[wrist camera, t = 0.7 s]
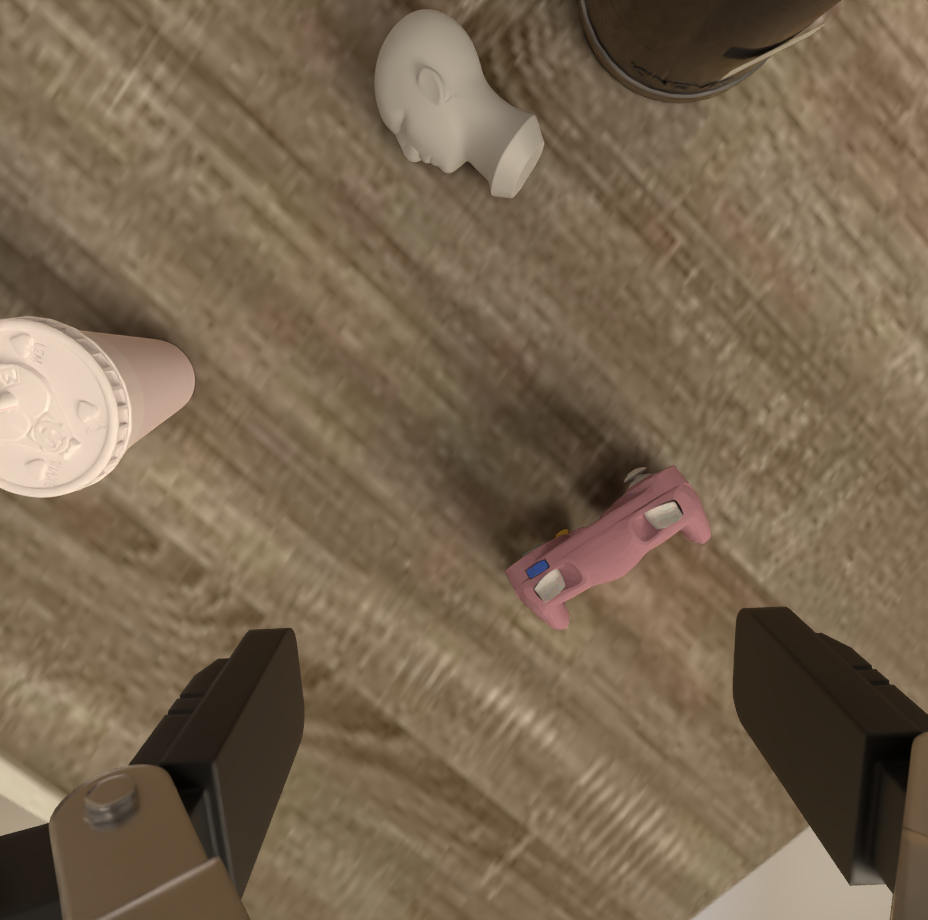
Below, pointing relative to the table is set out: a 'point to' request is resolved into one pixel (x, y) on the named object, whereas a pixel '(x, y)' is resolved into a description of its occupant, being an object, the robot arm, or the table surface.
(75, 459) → the smoothie
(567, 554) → the video game controller
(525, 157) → the white head bust
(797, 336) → the table surface
